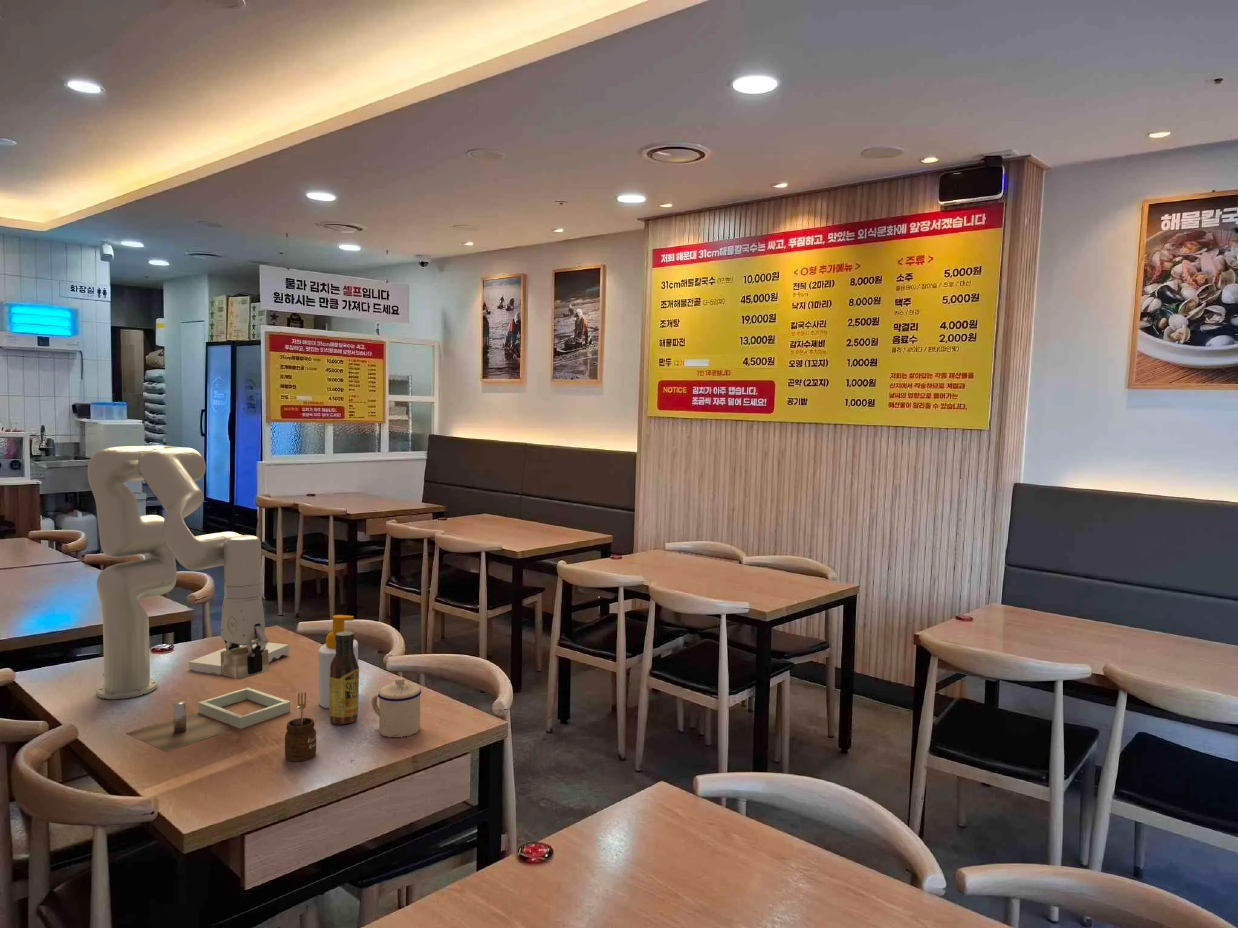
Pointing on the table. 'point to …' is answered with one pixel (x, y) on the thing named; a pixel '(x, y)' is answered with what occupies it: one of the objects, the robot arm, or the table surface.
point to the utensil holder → (300, 736)
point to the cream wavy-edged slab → (213, 660)
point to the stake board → (168, 740)
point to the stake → (179, 717)
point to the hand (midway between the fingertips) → (244, 668)
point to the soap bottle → (331, 657)
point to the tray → (241, 721)
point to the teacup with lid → (398, 708)
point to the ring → (240, 662)
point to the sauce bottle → (344, 681)
